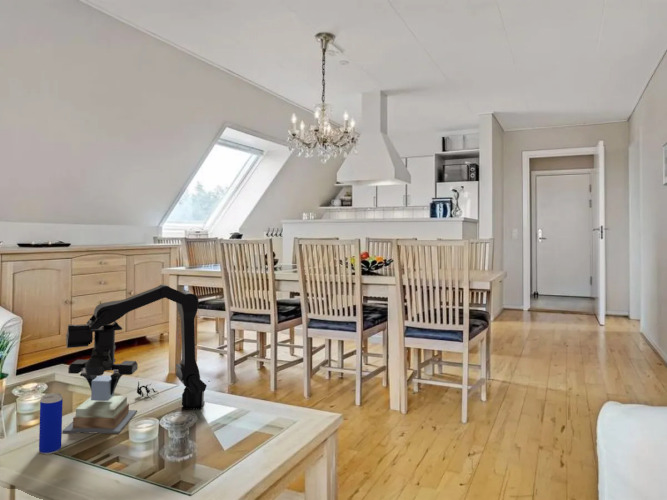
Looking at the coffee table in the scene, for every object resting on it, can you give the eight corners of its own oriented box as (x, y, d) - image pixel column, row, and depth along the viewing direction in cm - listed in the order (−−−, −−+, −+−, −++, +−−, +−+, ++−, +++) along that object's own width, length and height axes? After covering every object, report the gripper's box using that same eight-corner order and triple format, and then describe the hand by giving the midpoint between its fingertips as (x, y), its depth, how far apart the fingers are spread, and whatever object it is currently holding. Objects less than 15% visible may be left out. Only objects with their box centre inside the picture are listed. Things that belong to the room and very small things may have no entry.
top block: (114, 394, 148) (114, 376, 148) (108, 400, 143) (108, 381, 143) (97, 394, 148) (98, 375, 148) (91, 400, 143) (91, 381, 143)
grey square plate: (137, 412, 155) (137, 410, 155) (118, 433, 139) (119, 431, 139) (86, 411, 153) (86, 409, 153) (62, 432, 137) (62, 430, 137)
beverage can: (58, 444, 130) (59, 391, 129) (63, 451, 127) (65, 396, 126) (36, 449, 127) (38, 395, 126) (41, 457, 123) (43, 400, 122)
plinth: (128, 412, 152) (129, 395, 152) (114, 428, 140) (115, 410, 140) (90, 411, 151) (90, 395, 151) (72, 427, 139) (73, 409, 139)
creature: (157, 394, 174) (134, 391, 171) (161, 380, 174) (138, 377, 171) (157, 402, 167) (134, 399, 164) (161, 387, 167) (138, 384, 164)
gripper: (59, 350, 136) (58, 403, 137) (126, 352, 138) (124, 404, 138) (77, 341, 147) (76, 390, 148) (138, 343, 149) (137, 391, 149)
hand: (103, 394), depth 146 cm, fingers closed on top block, 5 cm apart
